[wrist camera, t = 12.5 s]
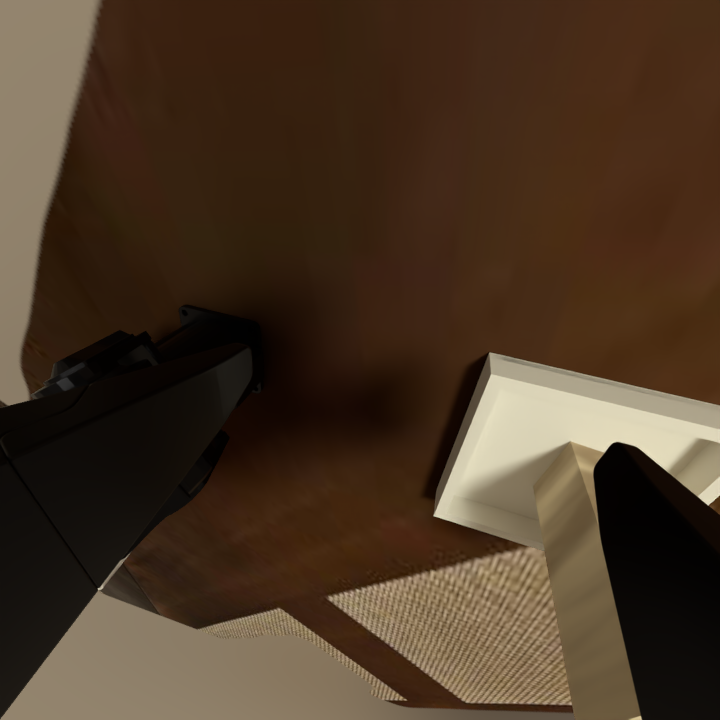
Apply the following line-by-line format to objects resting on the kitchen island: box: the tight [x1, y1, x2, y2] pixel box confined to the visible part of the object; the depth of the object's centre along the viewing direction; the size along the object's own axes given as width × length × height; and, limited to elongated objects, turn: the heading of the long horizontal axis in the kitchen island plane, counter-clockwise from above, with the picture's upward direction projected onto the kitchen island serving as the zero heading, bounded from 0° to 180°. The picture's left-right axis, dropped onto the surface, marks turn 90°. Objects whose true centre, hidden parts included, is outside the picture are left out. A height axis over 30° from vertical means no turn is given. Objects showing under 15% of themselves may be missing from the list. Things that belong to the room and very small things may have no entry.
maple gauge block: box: [533, 441, 642, 720], centre depth 18 cm, size 5×5×13 cm
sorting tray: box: [434, 352, 720, 551], centre depth 23 cm, size 14×14×2 cm
